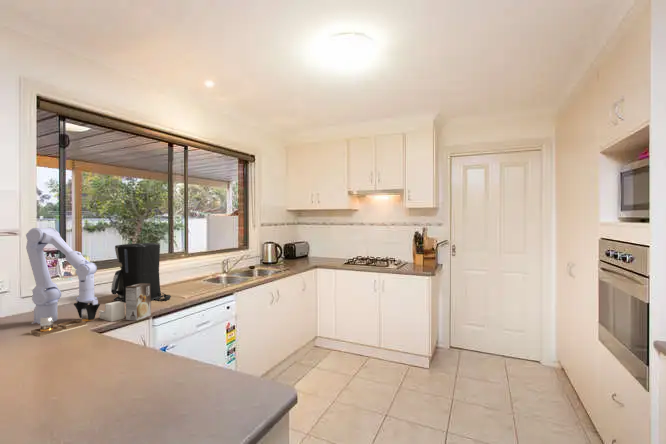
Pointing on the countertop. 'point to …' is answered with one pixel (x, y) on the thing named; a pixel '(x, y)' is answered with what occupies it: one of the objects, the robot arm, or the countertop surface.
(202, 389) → the countertop surface
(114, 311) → the feeder
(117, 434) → the countertop surface
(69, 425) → the countertop surface
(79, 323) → the seat board
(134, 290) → the coffee box
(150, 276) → the coffee maker
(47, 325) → the sleeve
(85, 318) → the sleeve
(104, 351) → the countertop surface
